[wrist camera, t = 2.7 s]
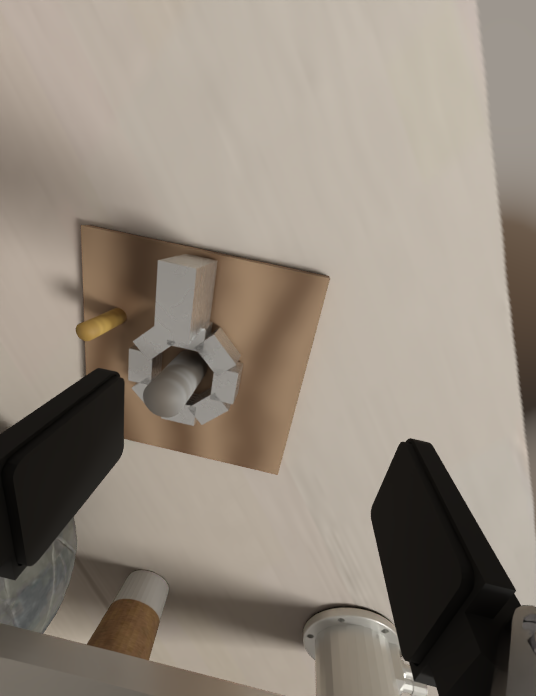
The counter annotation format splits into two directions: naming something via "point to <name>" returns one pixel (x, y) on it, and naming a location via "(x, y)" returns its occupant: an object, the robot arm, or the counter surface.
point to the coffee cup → (133, 616)
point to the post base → (187, 365)
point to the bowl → (40, 585)
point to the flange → (187, 337)
